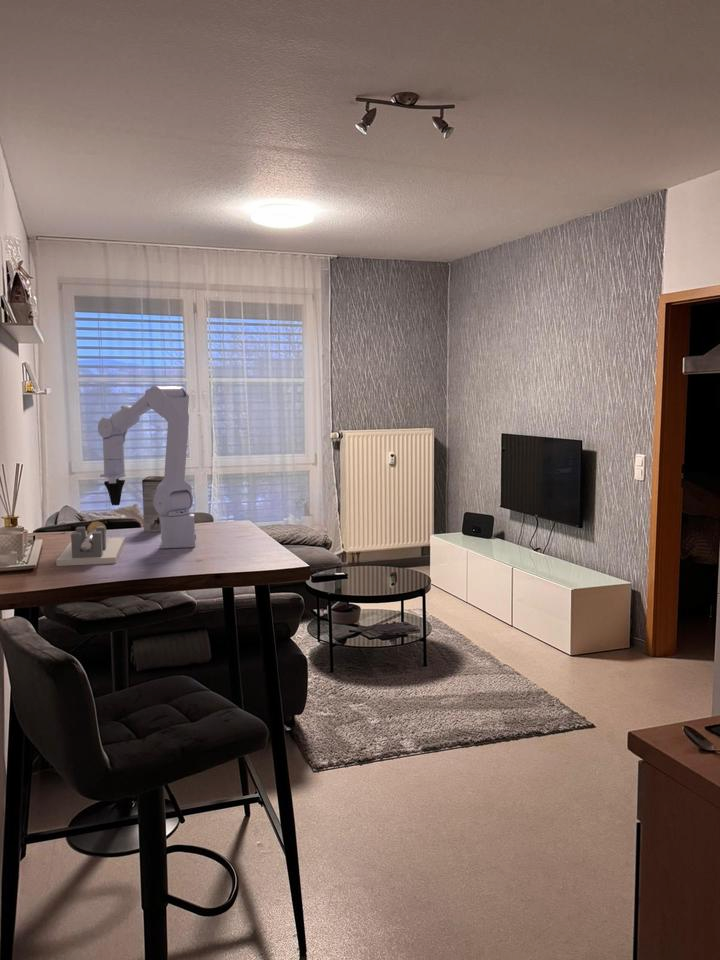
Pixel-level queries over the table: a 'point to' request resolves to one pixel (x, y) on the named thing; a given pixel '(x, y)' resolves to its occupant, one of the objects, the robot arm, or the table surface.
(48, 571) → the table surface
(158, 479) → the coffee box
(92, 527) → the shaft
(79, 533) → the shaft housing
